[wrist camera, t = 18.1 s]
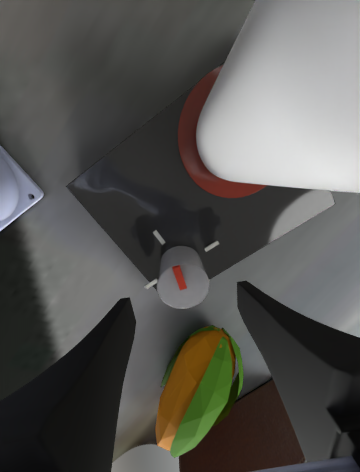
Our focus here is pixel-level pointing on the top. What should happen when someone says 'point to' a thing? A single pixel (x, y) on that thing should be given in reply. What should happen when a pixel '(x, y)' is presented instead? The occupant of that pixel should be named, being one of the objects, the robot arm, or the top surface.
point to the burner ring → (189, 145)
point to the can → (288, 99)
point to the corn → (198, 389)
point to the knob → (182, 278)
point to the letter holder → (248, 437)
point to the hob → (183, 203)
